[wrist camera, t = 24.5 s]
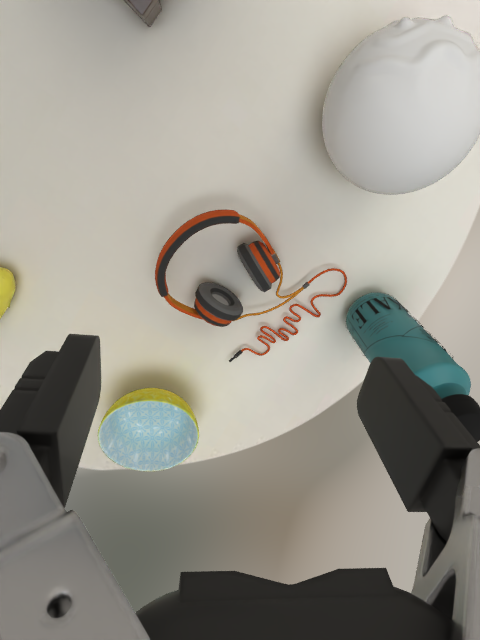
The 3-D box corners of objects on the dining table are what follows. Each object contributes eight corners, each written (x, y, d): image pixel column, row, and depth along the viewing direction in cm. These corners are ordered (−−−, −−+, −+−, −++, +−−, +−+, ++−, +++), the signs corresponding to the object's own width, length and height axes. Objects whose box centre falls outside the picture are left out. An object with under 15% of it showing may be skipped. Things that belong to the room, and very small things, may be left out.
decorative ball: (447, 27, 33) (560, -4, 23) (421, 175, 39) (502, 204, 29) (309, 34, 33) (361, 5, 22) (304, 184, 39) (344, 216, 28)
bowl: (214, 414, 52) (216, 450, 47) (139, 445, 54) (133, 484, 48) (171, 352, 47) (167, 385, 41) (89, 389, 48) (76, 426, 43)
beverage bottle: (371, 340, 49) (467, 473, 31) (328, 320, 47) (405, 451, 29) (404, 297, 46) (529, 417, 29) (360, 274, 44) (466, 389, 27)
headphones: (346, 272, 46) (232, 154, 35) (368, 298, 42) (248, 174, 31) (245, 359, 51) (116, 282, 40) (257, 389, 47) (117, 314, 36)
